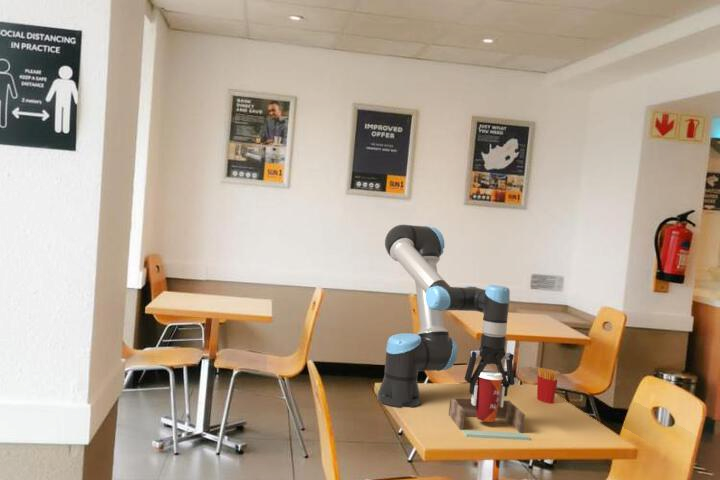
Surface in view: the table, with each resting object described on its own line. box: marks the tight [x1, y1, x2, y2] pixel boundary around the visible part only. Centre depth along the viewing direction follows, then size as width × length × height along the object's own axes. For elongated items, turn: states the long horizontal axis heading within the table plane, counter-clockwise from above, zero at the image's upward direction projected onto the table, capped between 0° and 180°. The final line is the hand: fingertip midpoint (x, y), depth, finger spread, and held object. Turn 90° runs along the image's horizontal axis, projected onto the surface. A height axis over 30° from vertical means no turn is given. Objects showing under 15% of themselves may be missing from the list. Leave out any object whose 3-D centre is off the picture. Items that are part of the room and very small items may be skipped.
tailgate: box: [460, 429, 531, 441], centre depth 185 cm, size 1×20×6 cm
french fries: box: [536, 367, 558, 404], centre depth 233 cm, size 8×4×12 cm, turn 32°
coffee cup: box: [475, 368, 503, 423], centre depth 194 cm, size 8×8×15 cm
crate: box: [448, 396, 525, 434], centre depth 195 cm, size 14×20×7 cm
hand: (486, 405), depth 195 cm, fingers closed on coffee cup, 8 cm apart
